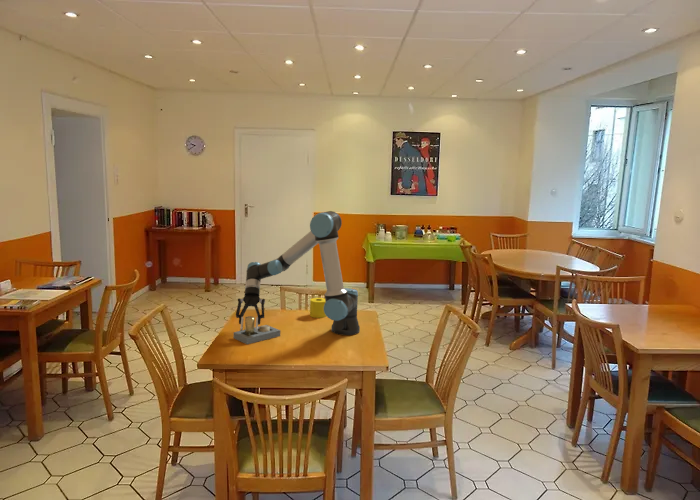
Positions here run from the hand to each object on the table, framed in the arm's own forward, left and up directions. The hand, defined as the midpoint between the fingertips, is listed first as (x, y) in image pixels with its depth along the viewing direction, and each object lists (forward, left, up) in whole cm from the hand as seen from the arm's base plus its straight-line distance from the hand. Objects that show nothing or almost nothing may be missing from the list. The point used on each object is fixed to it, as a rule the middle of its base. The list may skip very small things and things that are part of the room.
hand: (248, 329), depth 248 cm
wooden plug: (+3, -11, -6) cm, 13 cm away
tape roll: (+12, -56, -6) cm, 58 cm away
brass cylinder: (+3, -2, -6) cm, 7 cm away
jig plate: (+3, -7, -6) cm, 9 cm away
